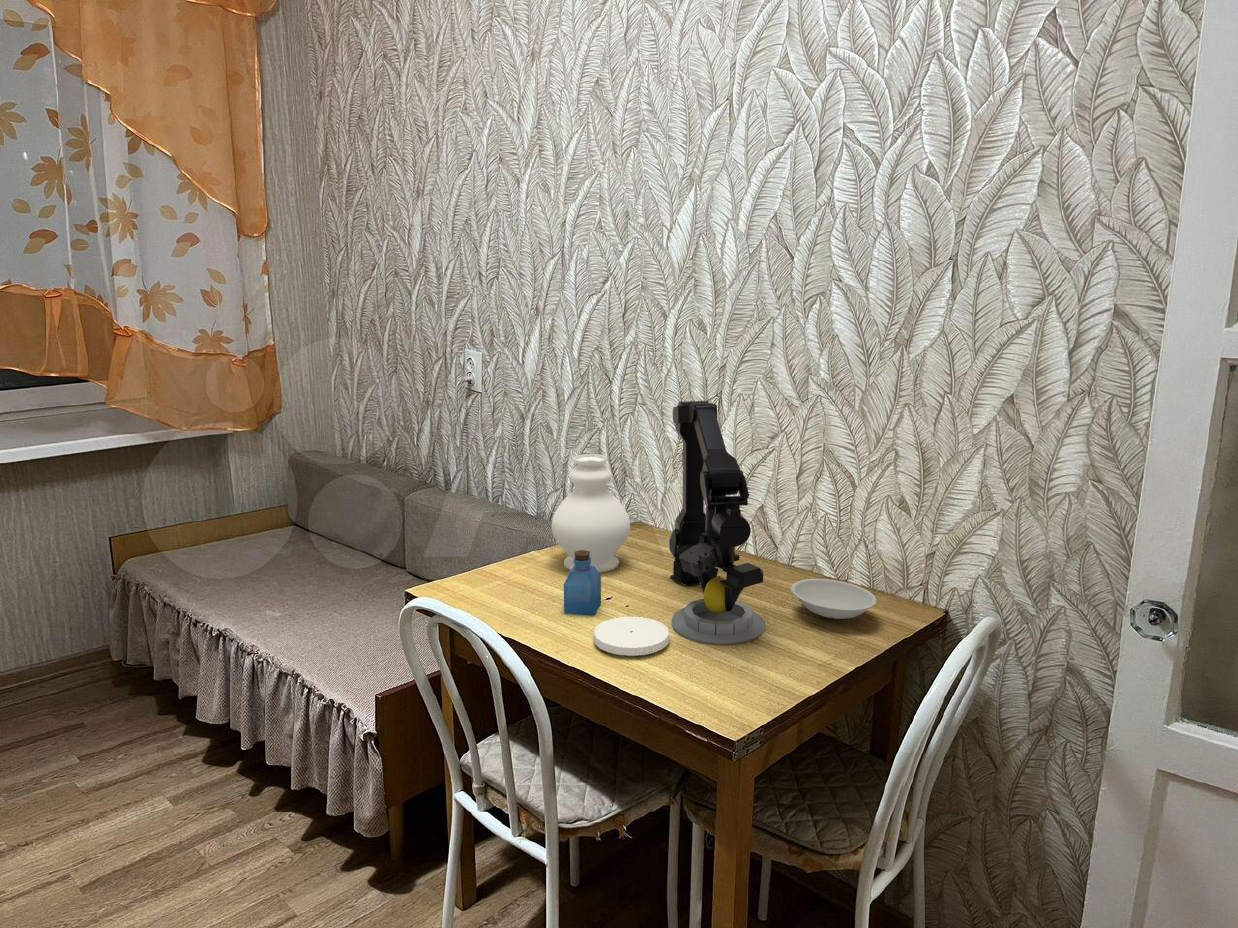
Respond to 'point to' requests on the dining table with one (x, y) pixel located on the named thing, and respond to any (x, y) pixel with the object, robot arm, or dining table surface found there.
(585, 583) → the perfume bottle
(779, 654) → the dining table surface
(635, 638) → the plastic lid
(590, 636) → the dining table surface
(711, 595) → the lemon
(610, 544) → the decorative vase
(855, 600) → the dish
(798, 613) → the dining table surface
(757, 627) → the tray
